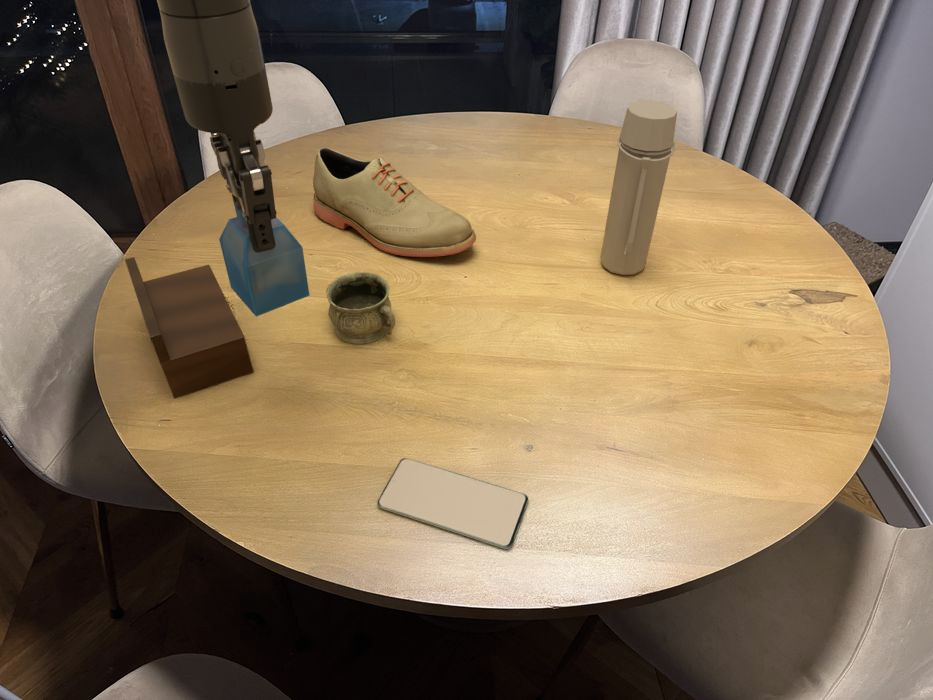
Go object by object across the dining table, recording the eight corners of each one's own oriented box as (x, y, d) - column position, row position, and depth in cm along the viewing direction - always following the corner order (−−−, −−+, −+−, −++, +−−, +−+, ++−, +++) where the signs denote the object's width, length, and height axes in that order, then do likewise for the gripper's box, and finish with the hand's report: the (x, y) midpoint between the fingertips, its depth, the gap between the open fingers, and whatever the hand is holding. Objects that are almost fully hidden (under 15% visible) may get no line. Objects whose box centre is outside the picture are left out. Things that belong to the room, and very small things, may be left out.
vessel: (415, 324, 95) (413, 288, 91) (375, 360, 89) (372, 323, 85) (350, 296, 100) (345, 260, 96) (308, 327, 94) (301, 291, 90)
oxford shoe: (454, 277, 104) (454, 210, 96) (293, 222, 115) (281, 158, 107) (488, 243, 111) (491, 178, 103) (334, 195, 122) (326, 133, 115)
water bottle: (597, 249, 110) (623, 96, 94) (646, 254, 109) (681, 101, 93) (595, 282, 103) (623, 123, 87) (648, 287, 102) (685, 128, 86)
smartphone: (510, 548, 68) (375, 504, 71) (510, 551, 68) (375, 507, 72) (530, 495, 73) (402, 456, 76) (529, 498, 73) (402, 459, 77)
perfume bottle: (282, 268, 77) (265, 171, 69) (309, 295, 73) (294, 196, 65) (230, 287, 74) (206, 187, 66) (256, 316, 70) (233, 215, 62)
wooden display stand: (253, 372, 87) (237, 311, 81) (174, 398, 84) (150, 337, 77) (218, 298, 99) (202, 239, 92) (147, 318, 95) (124, 259, 89)
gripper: (157, 45, 60) (204, 213, 72) (190, 100, 51) (238, 284, 62) (241, 33, 63) (273, 197, 75) (287, 84, 54) (316, 262, 65)
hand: (257, 236), depth 68 cm, fingers closed on perfume bottle, 4 cm apart
